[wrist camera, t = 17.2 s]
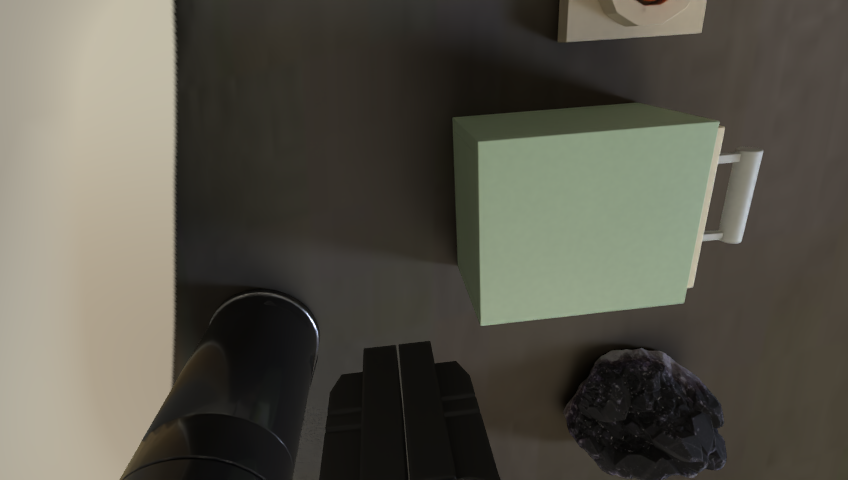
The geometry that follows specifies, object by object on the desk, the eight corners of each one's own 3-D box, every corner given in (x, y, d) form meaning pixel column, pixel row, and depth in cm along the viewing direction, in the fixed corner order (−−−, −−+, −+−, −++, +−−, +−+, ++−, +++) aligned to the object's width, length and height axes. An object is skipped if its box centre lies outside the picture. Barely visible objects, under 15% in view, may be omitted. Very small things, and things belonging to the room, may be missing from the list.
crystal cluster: (532, 397, 48) (568, 489, 39) (639, 318, 44) (704, 401, 35) (604, 444, 53) (649, 533, 45) (705, 377, 49) (776, 462, 41)
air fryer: (638, 102, 36) (720, 120, 27) (619, 249, 41) (684, 303, 32) (452, 117, 35) (477, 141, 26) (457, 266, 40) (480, 326, 31)
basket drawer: (719, 105, 36) (800, 120, 29) (693, 240, 40) (757, 280, 34) (485, 124, 34) (513, 144, 28) (486, 262, 39) (510, 307, 32)
